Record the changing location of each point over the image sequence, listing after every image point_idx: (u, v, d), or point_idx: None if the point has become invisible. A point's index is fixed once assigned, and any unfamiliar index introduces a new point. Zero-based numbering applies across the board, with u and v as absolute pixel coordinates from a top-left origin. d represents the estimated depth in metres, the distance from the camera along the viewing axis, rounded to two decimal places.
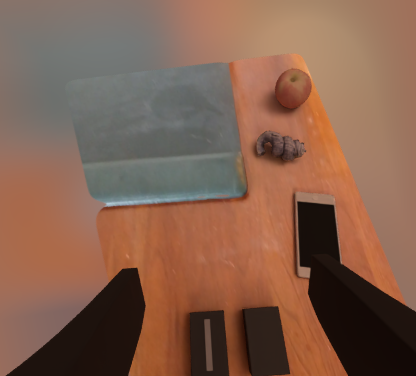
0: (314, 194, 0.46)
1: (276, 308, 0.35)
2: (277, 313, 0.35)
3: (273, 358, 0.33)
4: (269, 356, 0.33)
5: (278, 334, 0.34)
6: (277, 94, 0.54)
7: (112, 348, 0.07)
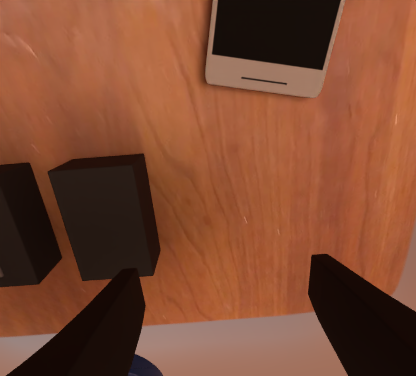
0: None
1: (128, 169, 0.14)
2: (130, 180, 0.14)
3: (120, 256, 0.16)
4: (112, 254, 0.16)
5: (132, 220, 0.15)
6: None
7: (112, 348, 0.07)
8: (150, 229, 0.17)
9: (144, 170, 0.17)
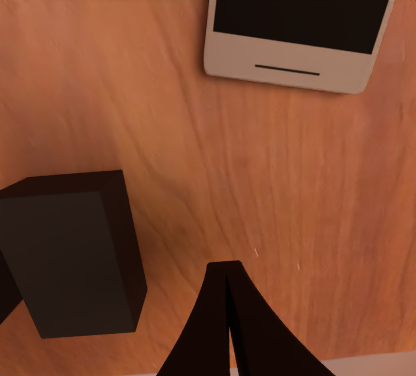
0: None
1: (93, 197, 0.10)
2: (97, 211, 0.10)
3: (90, 308, 0.12)
4: (79, 306, 0.12)
5: (103, 263, 0.11)
6: None
7: (227, 340, 0.07)
8: (131, 270, 0.13)
9: (122, 192, 0.12)
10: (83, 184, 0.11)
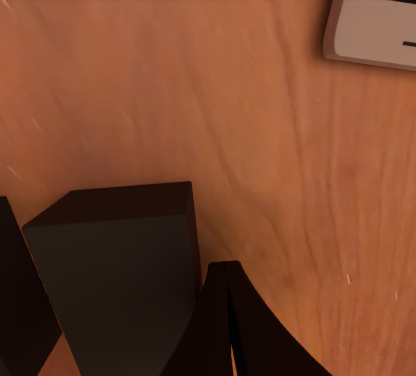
0: None
1: (177, 223, 0.07)
2: (180, 241, 0.07)
3: (154, 360, 0.09)
4: (141, 357, 0.09)
5: (178, 306, 0.08)
6: None
7: (229, 340, 0.07)
8: None
9: (193, 210, 0.10)
10: (155, 203, 0.08)
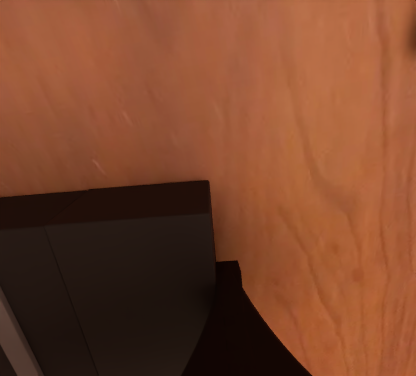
0: None
1: (200, 222, 0.07)
2: (202, 240, 0.07)
3: (172, 359, 0.09)
4: (159, 357, 0.09)
5: (198, 306, 0.08)
6: None
7: None
8: None
9: (211, 209, 0.10)
10: (176, 202, 0.08)
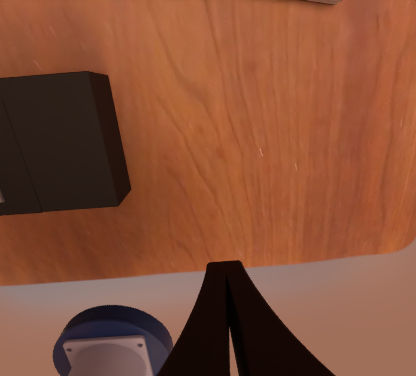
0: None
1: (83, 76, 0.13)
2: (86, 89, 0.13)
3: (82, 182, 0.15)
4: (73, 180, 0.15)
5: (91, 139, 0.14)
6: None
7: (227, 340, 0.07)
8: (115, 157, 0.16)
9: (108, 92, 0.15)
10: None
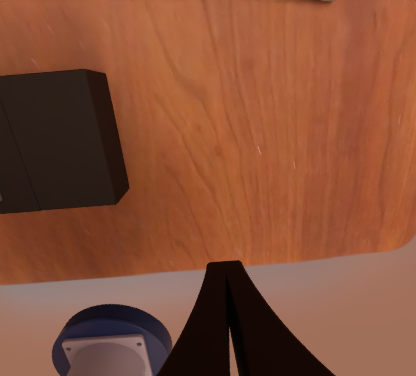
0: None
1: (80, 74, 0.13)
2: (83, 87, 0.13)
3: (80, 180, 0.15)
4: (71, 178, 0.15)
5: (89, 137, 0.14)
6: None
7: (227, 340, 0.07)
8: (113, 155, 0.16)
9: (105, 90, 0.15)
10: None
